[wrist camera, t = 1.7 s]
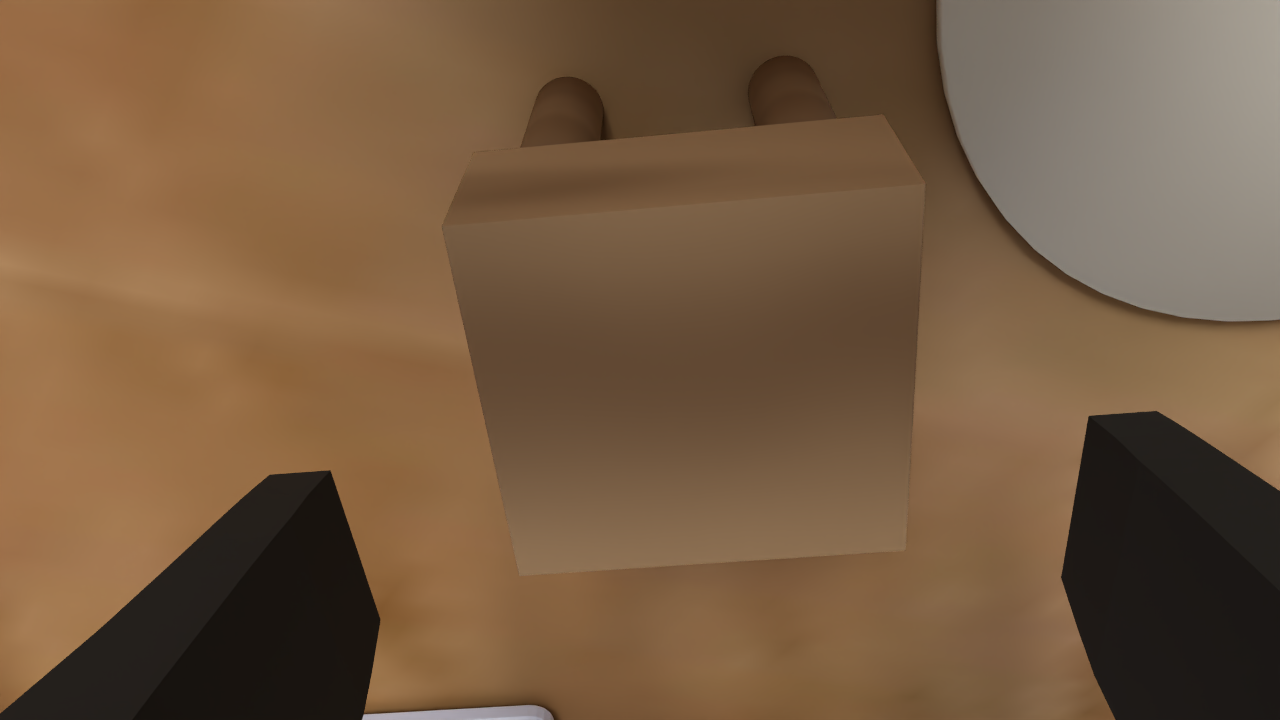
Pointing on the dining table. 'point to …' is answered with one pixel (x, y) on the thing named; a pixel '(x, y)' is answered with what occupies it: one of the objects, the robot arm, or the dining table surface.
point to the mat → (1129, 141)
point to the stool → (694, 331)
